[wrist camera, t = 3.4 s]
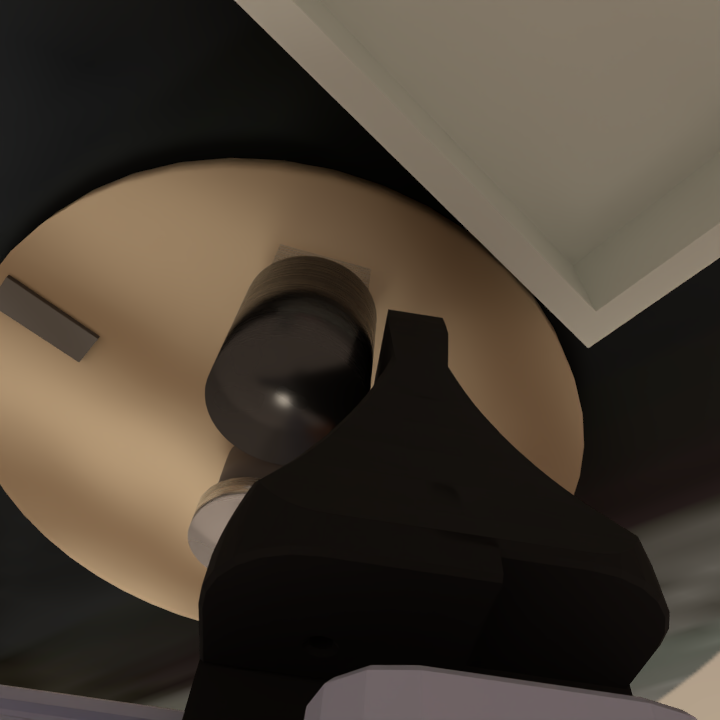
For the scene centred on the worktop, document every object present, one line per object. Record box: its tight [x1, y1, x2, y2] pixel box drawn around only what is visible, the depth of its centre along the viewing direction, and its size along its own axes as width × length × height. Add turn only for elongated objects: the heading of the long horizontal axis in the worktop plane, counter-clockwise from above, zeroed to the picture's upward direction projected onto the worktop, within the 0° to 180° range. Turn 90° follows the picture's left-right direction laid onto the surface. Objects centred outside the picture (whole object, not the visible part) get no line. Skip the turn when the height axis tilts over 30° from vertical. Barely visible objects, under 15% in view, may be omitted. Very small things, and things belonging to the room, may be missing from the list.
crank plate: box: [0, 158, 584, 621], centre depth 17 cm, size 17×17×2 cm
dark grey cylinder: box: [188, 244, 377, 568], centre depth 15 cm, size 14×3×4 cm, turn 165°
